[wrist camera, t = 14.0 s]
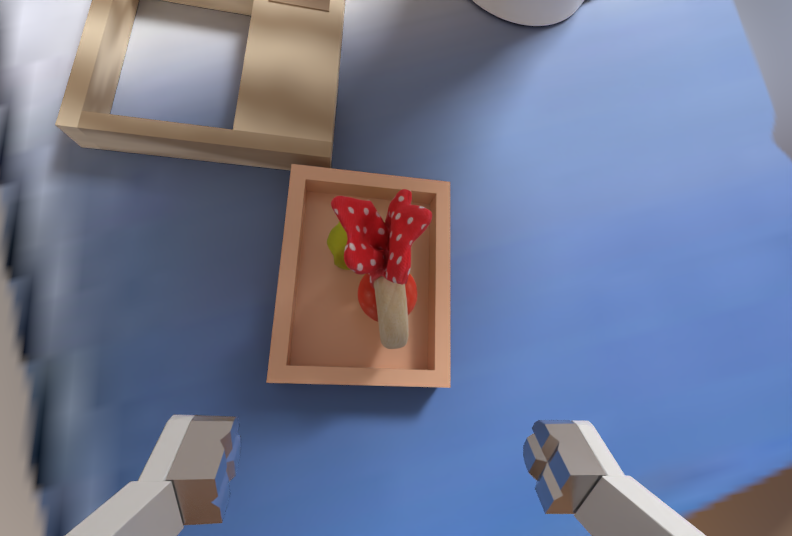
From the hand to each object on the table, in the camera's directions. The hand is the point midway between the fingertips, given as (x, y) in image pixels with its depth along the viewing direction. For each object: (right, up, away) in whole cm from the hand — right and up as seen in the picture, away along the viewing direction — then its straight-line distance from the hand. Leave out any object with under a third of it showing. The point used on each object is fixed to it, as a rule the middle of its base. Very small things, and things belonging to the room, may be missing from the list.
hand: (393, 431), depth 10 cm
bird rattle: (-1, +3, +16) cm, 16 cm away
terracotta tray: (-2, +4, +16) cm, 17 cm away
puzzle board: (-13, +22, +19) cm, 32 cm away
